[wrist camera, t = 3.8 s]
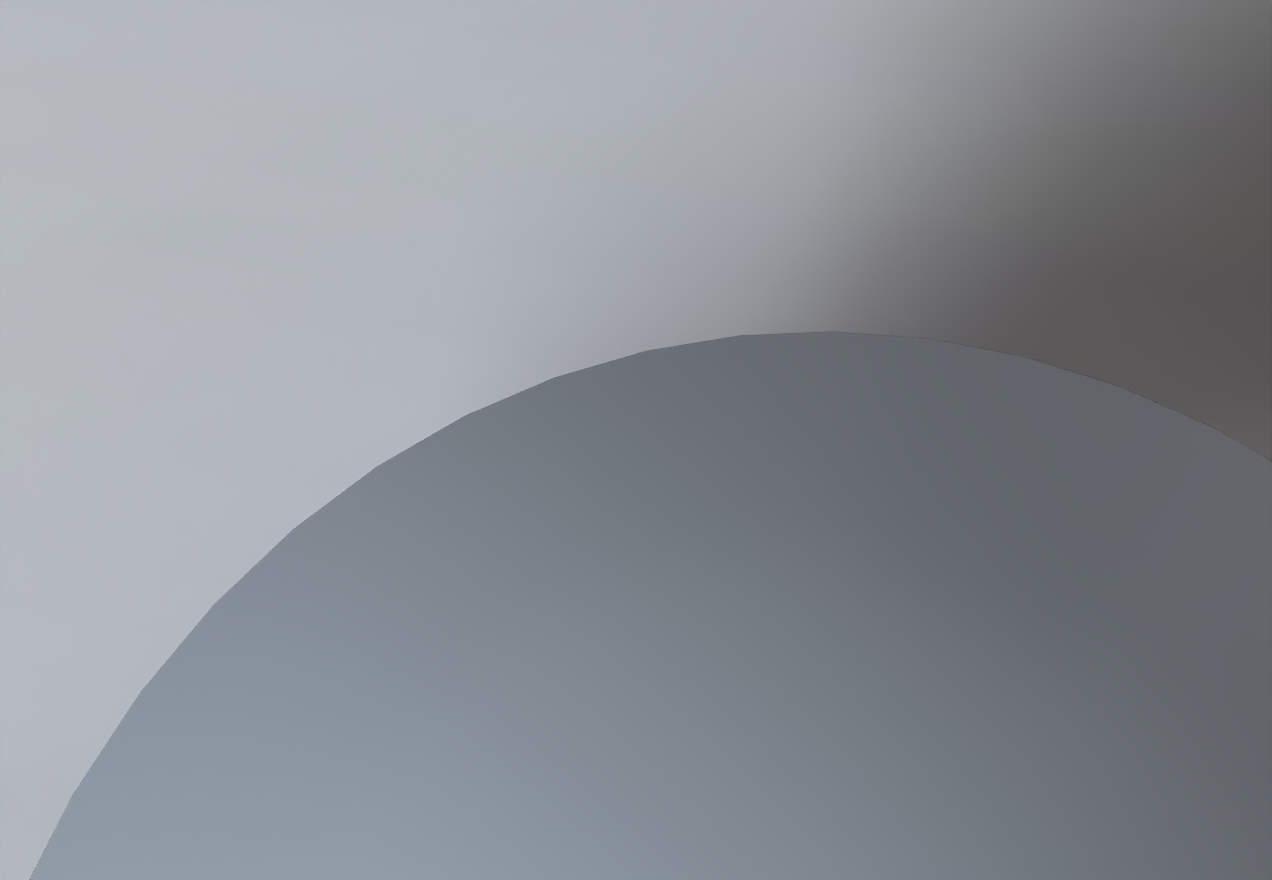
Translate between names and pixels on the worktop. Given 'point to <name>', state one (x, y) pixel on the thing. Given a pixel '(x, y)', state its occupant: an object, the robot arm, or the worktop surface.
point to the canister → (733, 642)
